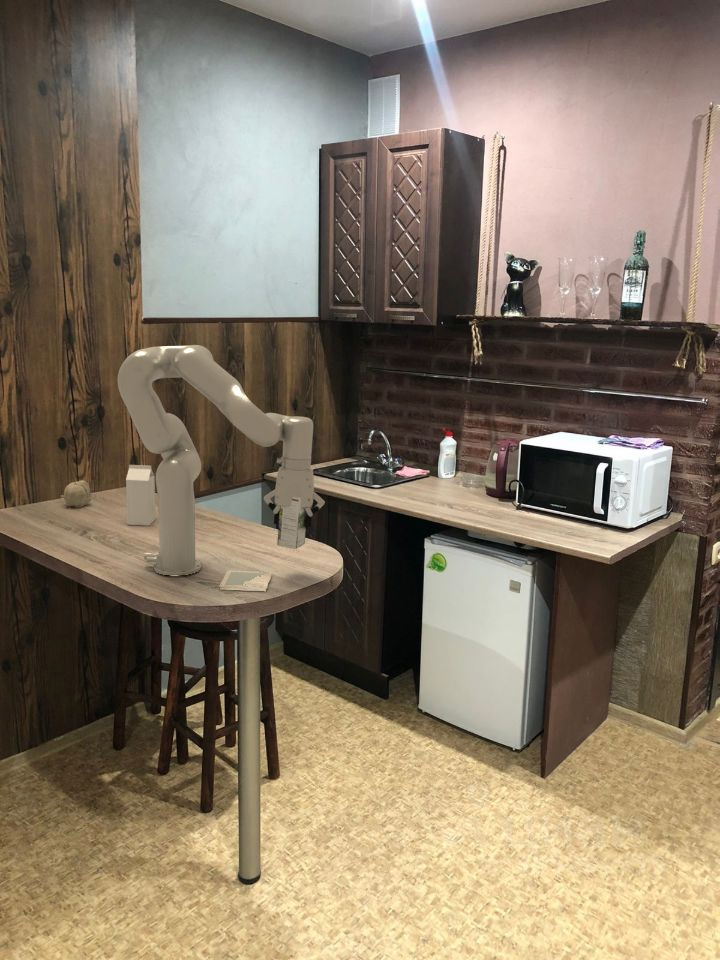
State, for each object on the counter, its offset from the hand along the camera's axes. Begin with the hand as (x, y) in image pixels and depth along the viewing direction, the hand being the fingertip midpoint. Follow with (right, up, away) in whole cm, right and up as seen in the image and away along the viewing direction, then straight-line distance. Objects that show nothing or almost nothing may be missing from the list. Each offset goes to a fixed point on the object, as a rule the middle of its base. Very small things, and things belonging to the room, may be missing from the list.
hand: (292, 527), depth 213 cm
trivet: (-12, -14, -5) cm, 19 cm away
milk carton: (-53, -1, +44) cm, 69 cm away
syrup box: (0, -5, +1) cm, 5 cm away
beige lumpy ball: (-79, +4, +60) cm, 100 cm away
